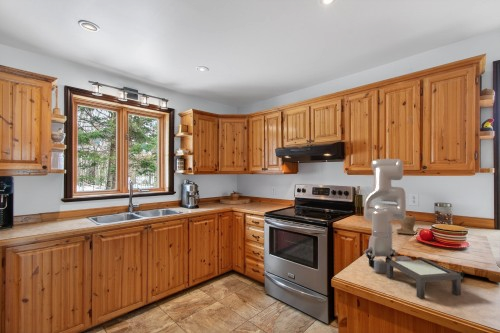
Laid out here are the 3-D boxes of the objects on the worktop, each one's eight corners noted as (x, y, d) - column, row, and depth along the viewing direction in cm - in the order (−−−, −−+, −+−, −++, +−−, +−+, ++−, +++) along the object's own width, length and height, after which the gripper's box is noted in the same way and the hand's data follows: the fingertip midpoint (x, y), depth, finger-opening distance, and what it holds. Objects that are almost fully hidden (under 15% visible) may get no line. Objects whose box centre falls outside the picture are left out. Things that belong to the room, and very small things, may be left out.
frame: (386, 277, 117) (386, 259, 117) (421, 274, 120) (421, 257, 120) (420, 299, 98) (420, 277, 98) (460, 295, 100) (460, 274, 100)
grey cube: (372, 269, 126) (372, 259, 126) (380, 268, 127) (380, 259, 127) (378, 273, 122) (378, 263, 122) (387, 272, 122) (387, 263, 122)
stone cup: (413, 232, 197) (413, 214, 197) (419, 236, 186) (419, 217, 186) (393, 230, 202) (393, 213, 202) (397, 234, 190) (397, 216, 190)
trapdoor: (388, 260, 120) (388, 256, 120) (412, 259, 122) (412, 255, 122) (420, 278, 101) (420, 274, 101) (448, 276, 103) (448, 272, 103)
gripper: (389, 231, 129) (389, 263, 129) (360, 232, 127) (360, 264, 126) (400, 235, 122) (400, 268, 121) (369, 236, 119) (369, 270, 119)
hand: (379, 266), depth 124 cm, fingers open, 9 cm apart
